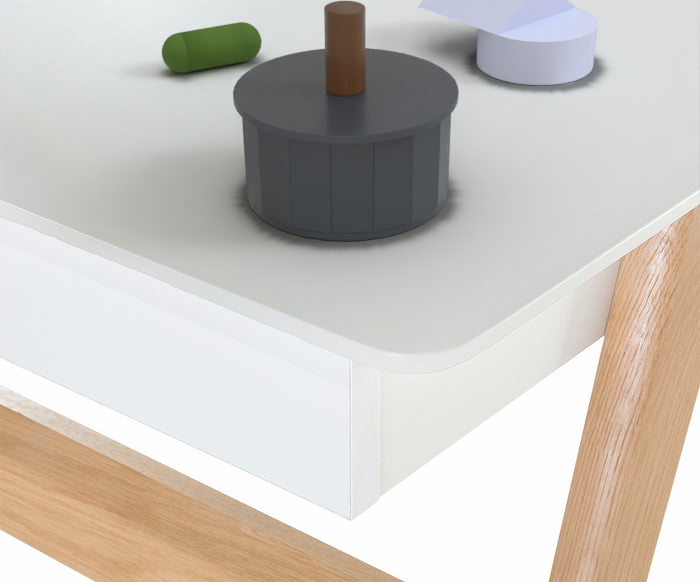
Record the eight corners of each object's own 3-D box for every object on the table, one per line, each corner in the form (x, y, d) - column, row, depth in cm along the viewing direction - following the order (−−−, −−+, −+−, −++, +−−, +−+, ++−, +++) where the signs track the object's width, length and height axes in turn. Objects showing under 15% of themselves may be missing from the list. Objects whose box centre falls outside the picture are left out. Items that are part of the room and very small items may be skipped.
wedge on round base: (417, 48, 99) (539, 95, 91) (418, -36, 95) (546, 5, 87) (494, 21, 104) (616, 63, 96) (498, -60, 100) (627, -23, 92)
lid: (288, 172, 68) (283, 66, 64) (202, 86, 78) (194, -10, 74) (500, 125, 72) (506, 24, 69) (393, 50, 82) (394, -42, 79)
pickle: (171, 81, 94) (167, 43, 92) (158, 68, 96) (154, 30, 94) (268, 63, 97) (266, 26, 95) (253, 51, 99) (251, 14, 97)
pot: (296, 259, 71) (292, 157, 68) (218, 172, 81) (211, 78, 77) (483, 213, 76) (489, 114, 72) (389, 135, 85) (390, 45, 82)
